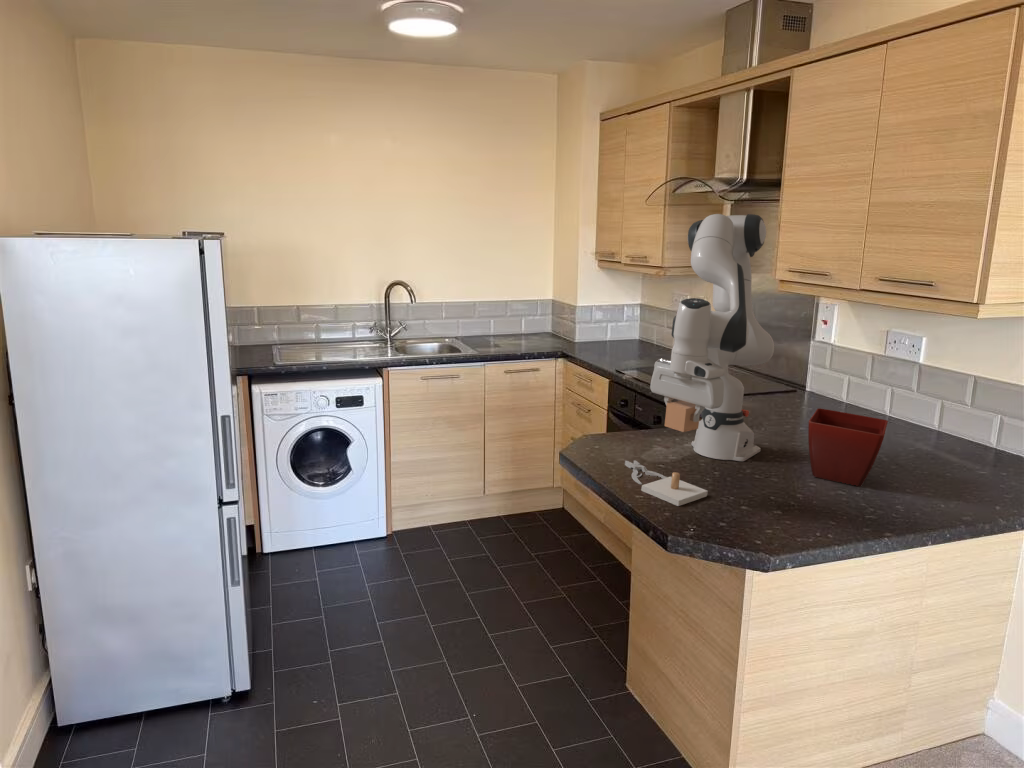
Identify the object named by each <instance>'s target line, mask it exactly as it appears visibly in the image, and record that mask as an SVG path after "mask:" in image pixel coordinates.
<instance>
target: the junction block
mask: <svg viewBox="0 0 1024 768" xmlns="http://www.w3.org/2000/svg"><path fill="white" fill-rule="evenodd" d="M666 477H667V476H666ZM680 477H681V473H680V472H677V471H676V472H675V471H674V472H672V473H671V476H668V477H667V478H664V479H663V478H661V479H658V480H655V481H651V482H648V483H645V484H642V485H641V489H640V491H641V492H643V493H646V494H648V495H651V496H653V497H655V498H658V499H660V500H662V501H666V502H667V503H670V504H671V505H674V506H677V507H679V506H683V505H685V504H688V503H691V502H692V503H693V502H694V501H697V500H700V499H703V498H707V496H708V490H707V489H704V488H702V487H699V486H697V485H694V484H691V483H689V482H686V481H684V480H681V478H680Z"/></svg>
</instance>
